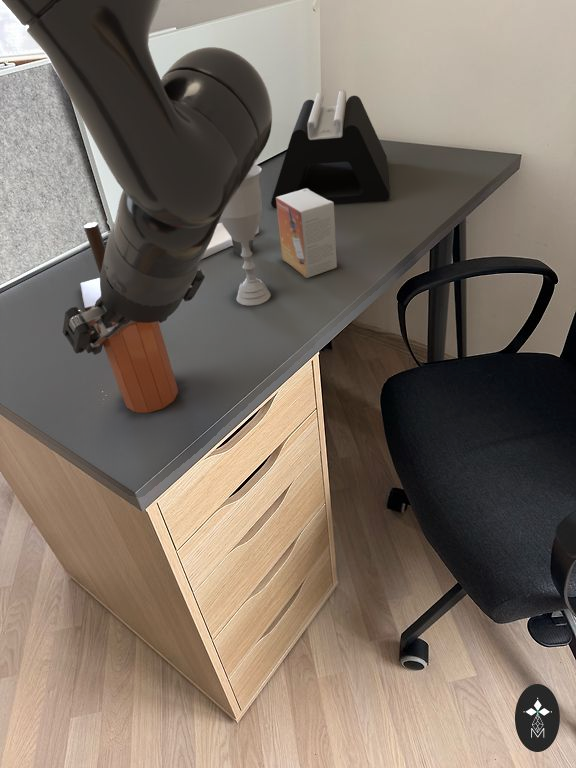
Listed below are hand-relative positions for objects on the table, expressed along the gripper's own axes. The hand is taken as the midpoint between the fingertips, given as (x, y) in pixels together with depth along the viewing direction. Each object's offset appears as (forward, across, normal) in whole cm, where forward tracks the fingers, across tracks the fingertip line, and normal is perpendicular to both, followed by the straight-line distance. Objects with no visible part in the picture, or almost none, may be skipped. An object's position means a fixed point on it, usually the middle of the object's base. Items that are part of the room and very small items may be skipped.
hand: (125, 330), depth 63 cm
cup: (+5, 0, +7) cm, 9 cm away
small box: (+12, -34, 0) cm, 37 cm away
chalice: (+12, -22, +1) cm, 25 cm away
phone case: (+26, -30, -14) cm, 42 cm away
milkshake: (+21, -30, -8) cm, 38 cm away
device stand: (+28, -62, -16) cm, 70 cm away
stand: (+24, -9, -12) cm, 28 cm away
